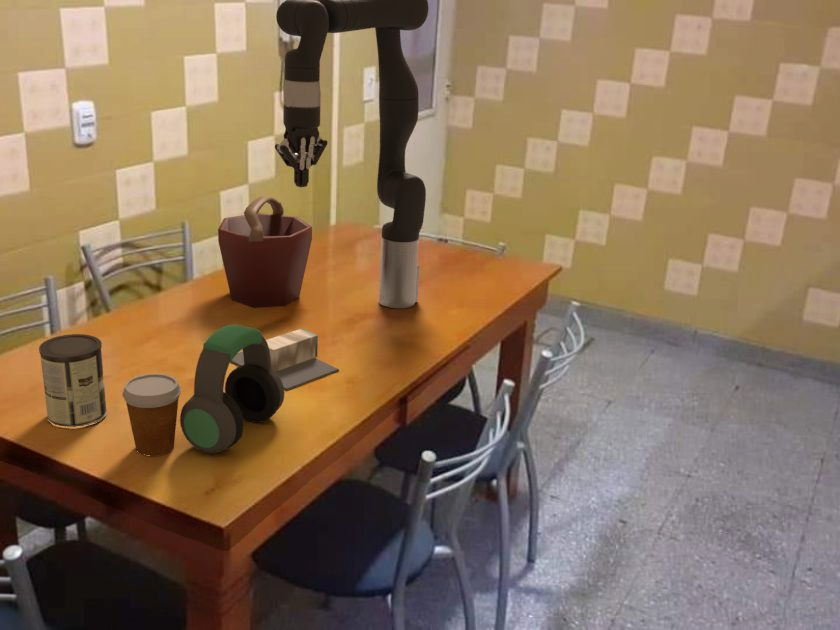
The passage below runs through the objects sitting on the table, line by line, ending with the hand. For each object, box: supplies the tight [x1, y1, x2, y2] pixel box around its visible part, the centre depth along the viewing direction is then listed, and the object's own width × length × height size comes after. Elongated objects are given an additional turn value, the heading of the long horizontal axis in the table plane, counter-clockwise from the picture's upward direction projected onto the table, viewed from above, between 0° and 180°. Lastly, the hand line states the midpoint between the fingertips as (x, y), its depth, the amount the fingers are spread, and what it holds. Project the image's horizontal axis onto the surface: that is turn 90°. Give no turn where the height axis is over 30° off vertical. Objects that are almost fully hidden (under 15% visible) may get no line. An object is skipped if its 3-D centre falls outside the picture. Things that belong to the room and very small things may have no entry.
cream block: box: [265, 328, 319, 372], centre depth 188 cm, size 5×5×12 cm
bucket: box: [217, 196, 313, 309], centre depth 221 cm, size 24×22×25 cm
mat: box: [230, 351, 339, 391], centre depth 187 cm, size 14×20×1 cm
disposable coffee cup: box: [121, 373, 182, 457], centre depth 151 cm, size 10×10×12 cm
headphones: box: [179, 323, 285, 454], centre depth 156 cm, size 19×11×20 cm, turn 156°
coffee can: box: [38, 333, 108, 427], centre depth 160 cm, size 10×10×14 cm
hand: (301, 186), depth 188 cm, fingers closed
